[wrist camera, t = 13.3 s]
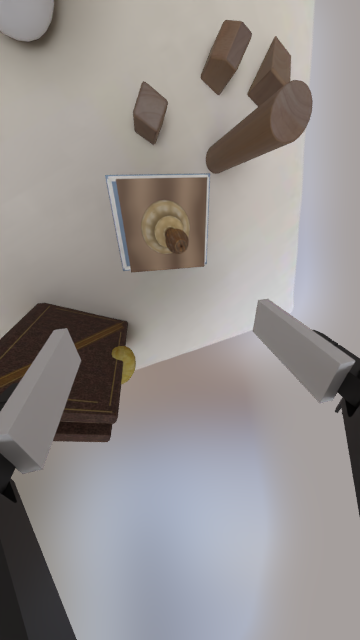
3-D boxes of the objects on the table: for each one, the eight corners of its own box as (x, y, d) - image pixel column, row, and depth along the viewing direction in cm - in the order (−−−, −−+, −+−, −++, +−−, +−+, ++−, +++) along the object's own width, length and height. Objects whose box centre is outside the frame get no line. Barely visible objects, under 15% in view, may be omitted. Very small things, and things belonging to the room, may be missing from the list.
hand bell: (174, 262, 36) (194, 296, 22) (132, 238, 32) (127, 261, 19) (198, 219, 33) (239, 228, 19) (155, 188, 29) (168, 173, 16)
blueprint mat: (123, 270, 40) (123, 271, 40) (105, 175, 32) (105, 175, 31) (205, 263, 43) (206, 264, 42) (209, 174, 34) (210, 173, 34)
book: (34, 328, 43) (-66, 444, 22) (36, 294, 40) (-82, 396, 19) (131, 346, 51) (125, 446, 30) (140, 319, 47) (140, 412, 26)
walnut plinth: (132, 265, 40) (131, 272, 35) (118, 182, 32) (115, 178, 28) (197, 260, 41) (204, 266, 37) (199, 180, 34) (207, 177, 30)
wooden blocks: (289, 56, 29) (501, -156, 12) (219, 193, 36) (287, 183, 19) (196, -65, 22) (365, -892, 6) (133, 131, 30) (125, 36, 13)
